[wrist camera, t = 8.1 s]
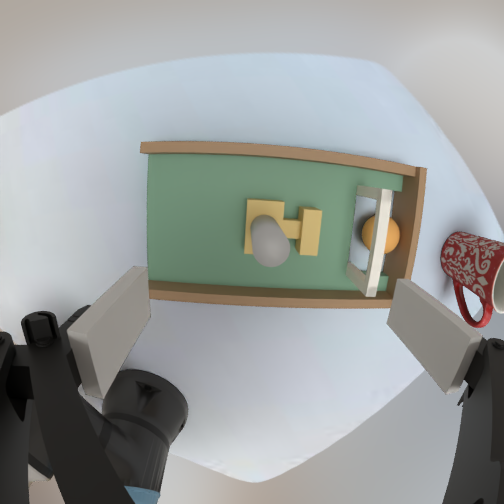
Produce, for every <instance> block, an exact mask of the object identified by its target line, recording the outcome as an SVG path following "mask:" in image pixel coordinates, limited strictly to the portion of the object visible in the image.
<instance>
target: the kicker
mask: <svg viewBox="0 0 504 504" xmlns="http://www.w3.org/2000/svg"><path fill="white" fill-rule="evenodd" d="M284 205H285V202H284V201H282V200H270V199H254V198H247V212H246V228H245V245H244V254H253V255H254V257H255V259H256V260H257V261H258V262H259V263H260V264H261V265H263V266H266V267H276V266H279V265H281V264H282V263H284V262H285V261H286V259H287V258H288V256H289V253H290V243H289V241H288V239H287V238H293V239H296V244H295V249H296V250H297V252H298V253H299V255H311V256H317V254H318V245H319V237H320V228H321V219H322V210H320V209H318V208H316V207H304V206H299V213H298V219H289V218H283V217H284Z"/></svg>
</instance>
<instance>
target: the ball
mask: <svg viewBox="0 0 504 504" xmlns="http://www.w3.org/2000/svg"><path fill="white" fill-rule="evenodd" d="M374 220H375V216H372V217H371V218H369V219H368V220H367V221H366V223H365V224H364V226H363V229H362V239H363V242H364V244H365V246H366V247H367V248H368V249H369V250H370V248H371V242H372V235H373V228H374ZM399 238H400V231H399V228H398V225H397V224H396V222H395V221H394V220H393V219H392V218H390V217H389V223H388V231H387V237H386V244H385V250H384V254H387V253H389V252H391V251H392V250H393V249H394V248H395V247H396V246H397V244H398V242H399Z"/></svg>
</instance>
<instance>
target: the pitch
mask: <svg viewBox="0 0 504 504" xmlns="http://www.w3.org/2000/svg"><path fill="white" fill-rule="evenodd" d="M140 153H144V154H149V157H148V179H147V257H148V279H149V280H148V287H149V299H158V300H169V301H181V302H194V303H208V304H223V305H241V306H262V307H289V308H391V304H392V300H393V296H394V291H395V287H396V282H397V279H409V280H411V275H412V271H413V266H414V261H415V256H416V250H417V245H418V239H419V233H420V226H421V219H422V212H423V204H424V195H425V184H426V172H427V168H423V167H414V166H410V165H405V164H400V163H396V162H391V161H386V160H380V159H375V158H369V157H364V156H358V155H351V154H345V153H338V152H331V151H324V150H316V149H307V148H298V147H289V146H278V145H266V144H252V143H234V142H206V141H158V142H141V147H140ZM392 190H394V191H395V192H394V202H393V210H392V219H393V220H394V221H395V222H396V224H397V225H398V228H399V231H400V238H399V242H398V244H397V246H396V247H395V248H394V249H393V250H392V251H391V252H389V253H387V254H386V257H385V263H384V268H383V272H381V267H382V261H383V256H384V250H385V244H386V237H387V231H388V223H389V216H390V208H391V199H392ZM356 195H359V196H364V197H368V198H372V199H376V200H377V204H376V212H375V220H374V228H373V235H372V242H371V248H370V255H369V261H368V266H367V271H360V270H359V269H358V268H357V267H356V266H355V265H353V264H352V263H351V262H348V257H349V250H350V243H351V236H352V228H353V220H354V211H355V202H356ZM247 198H254V199H270V200H282V201H284V202H285V205H284V217H283V218H289V219H298V213H299V206H304V207H316V208H318V209H320V210H322V219H321V228H320V237H319V245H318V254H317V256H311V255H299V253H298V252H297V250H296V249H295V244H296V239H293V238H287V239H288V241H289V243H290V253H289V256H288V258H287V259H286V261H285V262H284V263H282V264H281V265H279V266H276V267H266V266H263V265H261V264H260V263H259V262H258V261H257V260H256V259H255V257H254V255H253V254H244V245H245V228H246V212H247Z"/></svg>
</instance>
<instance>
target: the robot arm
mask: <svg viewBox="0 0 504 504" xmlns="http://www.w3.org/2000/svg"><path fill="white" fill-rule="evenodd" d="M150 317H151V313H150V301H149V287H148V269H147V267H137V266H133V267H132V268H131V269H130V270H129V271H128V272H127V273H126V274H124V275H123V276H122V277H121V278H120V279H119V280H118V281H117V282H116V283H115V284H114V285H113V286H111V287H110V288H109V289H108V290H107V291H106V292H105V293H104V294H103V295H102V296H101V297H100V298H99V299H98V300H97V301H96V302H95V303H94V304H93V305H87V306H85V307H82V308H80V309H78V310H77V311H76V312H75V313H74V314H73V315H72V316H71V317H70V318H69V319H68V321H66V322H65V323H64V324H63V325H61V326H60V327H59V328H58V324H57V320H56V316H55V315H54V314H53V313H51V312H48V311H38V312H34V313H31V314H29V315H27V316H25V317H24V318H23V319H22V321H21V326H22V329H23V333H24V336H25V339H26V343H27V345H14V343H13V340H12V337H11V335H10V334H9V333H7V332H0V504H29V487H30V486H31V484H32V483H33V482H35V481H49V480H50V479H51V478H52V476H53V475H54V476H55V479H56V481H57V484H58V487H59V489H60V492H61V494H62V497H63V499H64V502H65V504H157V501H158V498H159V497H160V489H161V484H162V479H163V474H164V469H165V465H166V460H167V456H168V451H169V447H170V445H171V444H172V442H173V441H174V440H175V438H176V437H177V436H178V434H179V432H181V430H182V429H183V428H184V426H185V424H186V420H187V415H188V406H187V403H186V400H185V398H184V397H183V395H182V394H181V393H180V392H179V391H178V390H177V389H176V388H175V387H174V386H173V385H172V384H170V383H169V382H168V381H166V380H164V379H162V378H161V377H159V376H156V375H154V374H151V373H148V372H144V371H139V370H125V371H121V372H119V370H120V368H121V366H122V365H123V363H124V361H125V359H126V358H127V356H128V354H129V352H130V351H131V349H132V347H133V346H134V344H135V342H136V340H137V339H138V337H139V335H140V334H141V332H142V330H143V329H144V327H145V325H146V324H147V322H148V320H149V319H150ZM387 325H388V326H389V327H390V328H391V329H392V330H393V331H394V333H395V334H396V335H397V336H398V337H399V338H400V340H401V341H402V342H403V343H404V344H405V346H406V347H407V348H408V349H409V350H410V351H411V353H412V354H413V355H414V356H415V357H416V359H417V360H418V361H419V362H420V363H421V365H422V366H423V367H424V368H425V370H426V371H427V372H428V373H429V374H430V376H431V377H432V378H433V379H434V381H435V382H436V383H437V384H438V386H439V387H440V388H441V389H442V391H443V392H444V393H445V394H446V395H447V394H450V393H454V392H458V390H459V388H460V386H461V384H462V382H463V380H465V381H466V382H467V383H468V385H467V387H466V389H465V391H464V393H463V395H462V397H461V399H460V400H459V402H458V404H457V405H458V406H459V405H460V403H461V402H463V406H462V407H463V410H462V418H461V425H460V432H459V437H458V443H457V448H456V453H455V458H454V463H453V467H452V471H451V475H450V479H449V483H448V486H447V490H446V493H445V496H444V500H443V503H442V504H504V341H503V340H501V339H496V338H490V339H488V341H487V340H486V339H484V338H483V335H481V334H480V333H479V332H478V331H476V330H475V329H474V328H473V327H471V326H470V325H469V324H468V323H466V322H465V321H464V320H463V319H461V318H460V317H459V316H457V315H456V314H455V313H454V312H452V311H451V310H450V309H448V308H447V307H446V306H444V305H443V304H442V303H441V302H439V301H438V300H437V299H435V298H434V297H433V296H431V295H430V294H428V293H427V292H426V291H424V290H423V289H422V288H420V287H419V286H418V285H416V284H415V283H413V282H412V281H411V280H409V279H397V282H396V287H395V291H394V296H393V300H392V304H391V308H390V312H389V316H388V320H387ZM81 383H82V386H83V389H84V392H85V395H89V396H93V397H97V398H101V399H103V406H102V414H101V413H100V412H98V411H97V410H96V409H95V408H94V407H93V406H92V405H91V404H90V403H88V402H87V401H86V400H85V399H84V398H83V397H82V396H81V395H80V394H79V392H78V389H77V388H78V387H79V385H80V384H81Z"/></svg>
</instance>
